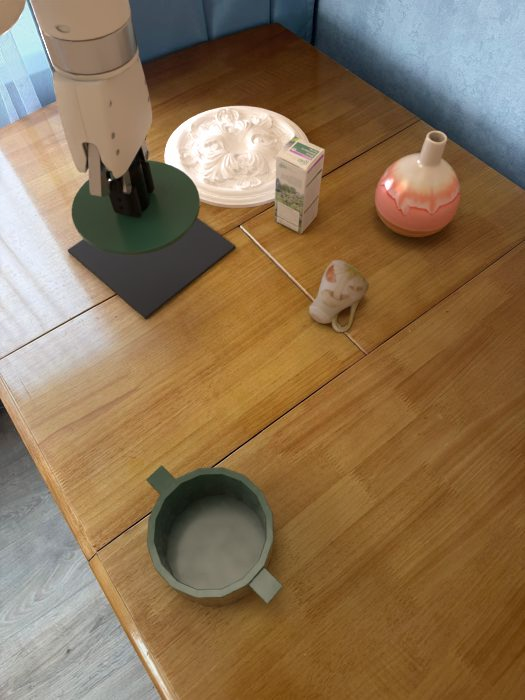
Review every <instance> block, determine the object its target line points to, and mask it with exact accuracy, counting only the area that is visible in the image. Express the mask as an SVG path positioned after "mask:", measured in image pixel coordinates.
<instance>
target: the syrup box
mask: <svg viewBox="0 0 525 700" xmlns="http://www.w3.org/2000/svg"><path fill="white" fill-rule="evenodd" d="M325 152H326V149H324V148H322V147H320V146H318V145H316V144H313V143H311V142H310V141H309V142H307V141H304V140H302V139H300V138H298V137H296V136H295V137H293V138H292V139H291V140H290V141H289V142H288V143H287V144H286V145H285V146H284V147H283V148H282V149H281V150H280V151H279V153H278V154H277V155H276V183H275V201H274V222H275V223H277V224H280V225H281V226H283V227H286V228H287V229H289V230H291V231H293V232H295V233H297V234H299V235H301V234H303V233H304V231H305V230H306V229H307V228H308V227H309V226H310V225H311V223H312V222H313V221H314V220H315V218H316V217H317V216H318V211H319V201H320V200H319V199H320V198H319V197H320V192H321V183H322V176H323V170H324V162H325Z"/></svg>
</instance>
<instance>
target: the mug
mask: <svg viewBox="0 0 525 700" xmlns="http://www.w3.org/2000/svg"><path fill="white" fill-rule="evenodd" d="M369 286H370V283H369V281H368V279H367V277H365V276H364V274H363V273H362V272H361V271H360V270H359V269H358V268H356V267H355V266H353V265H352V264H350V263H348V262H347V261H345V260H342V259H335V260H332V261H331V262H330V263H329V264H328V266H326V268H325V270H324V272H323V274H322V277H321V281H320V284H319V289H318V293H317V295H316V297H315V298H314V300H313V302H312V303H311V304H310V305H309V308H308V309H309V310H308V311H309V315H310V317H311V318H312V319H313V320H314V321H316V322H317V323H319V324H330V323H331V327H332V329H333V330H334V331H335V332H336V333H345V332H347V331H349V330H350V328H351V327H352V324H353V322H354V319H355V314H356V310H357V307H358V306H359V304H360V301H361V299H362V298H363V297H364V296H365V295H366V293H367V291H368V290H369V288H370V287H369ZM349 307H350V310H349V317H348V321H347V324H345V326H340V325H339V324H338V321H337V320H338V317H339V314H340V312H342V311H343V310H345V309H347V308H349Z"/></svg>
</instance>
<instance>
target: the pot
mask: <svg viewBox="0 0 525 700" xmlns="http://www.w3.org/2000/svg"><path fill="white" fill-rule="evenodd" d="M145 481H146V482H147V484H149V485H150V486H151V488H153V490H154V491H155V492H156V493H157V494H158V497H157V499H156V502H155V504H154V506H153V508H152V509H151V512H150V515H149V516H148V520H147V534H146V535H147V536H146V547H147V549H148V553H149V556H150V558H151V561H152V564H153V569H154V570H155V571H156V572H157V573H158V574H159V576H160V577H161V578H162V579H163V580H164V581H165V582H166V583H167V584H168V585H169V586H170V587H171V589H172V590H173V591H175V592H176V593H177V594H179V595H180V596H181V597H182V598H184V599H187V600H189V601H191V602H194V603H196V604H198V605H201V606H203V607H219V606H228V605H231V604H233V603H235V602H238V601H240V600H241V599H243V598H245V597H247V596H249V595H250V594H251V593H252V592H254V594H256V595H257V596H258V597H259V598H260V599H261V600H262V602H263V603H264V604H265V605H269V604H270V603H271V601H272V600H273V599H274V598H275V597H276V595H278V594H279V592H280V591H281V590H282V589H283V586H284V585H283V584H282V583H281V582H280V581H279V580H278V579H277V578H276V577H275V576H274V575H273V574H272V573H271V572H270V571H269V570H268V567H269V565H270V562H271V559H272V556H273V551H274V550H273V549H274V540H275V535H274V533H275V532H274V514H273V511H272V509H271V507H270V505H269V503H268V500H267V498H266V496H265V494H264V492H263V490H261V488H259V487H258V486H257V485H256V484H255V483H254V482H253V481H252V480H251V479H250V478H249V477H248V476H246V475H245V474H242V473H240V472H237V471H234V470H232V469H229V468H226V467H223V466H222V467H221V466H220V467H199V468H196V469H194V470H192V471H190V472H186V473H184V474H182V475H181V476H178V477H177V478H176V477H174V476H173V475H172V474H171V472H170V471H168V470H167V469H166V468H165V467H164V466H163V465H160V466H159V467H158V468H157V469H155V471H153V472H152V473H151V474H150V475H149V476H148V477H146V479H145Z"/></svg>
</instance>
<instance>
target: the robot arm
mask: <svg viewBox="0 0 525 700" xmlns="http://www.w3.org/2000/svg"><path fill="white" fill-rule="evenodd" d="M26 2H27V0H0V37H1V36H4V35H5V34H6V33H8V32H9V31H11V30H12V29H13V28H14V26H16V24H17V23H18V22H19V20H20V18H21V17H22V15H23V13H24V11H25V7H26V4H27V3H26ZM29 3H30V5H31V8H32V11H33V14H34V17H35V19H36V22H37V26H38V28H39V32H40V35H41V37H42V40H43V43H44V45H45V49H46V51H47V55H48V57H49V60H50V62H51V65H52V67H53V69H54V72H53V73H52V82H53V89H54V95H55V102H56V106H57V110H58V114H59V119H60V122H61V127H62V129H63V133H64V136H65V141H66V144H67V146H68V150H69V153H70V155H71V159H72V162H73V164H74V166H75V168H76V170H77V171H78V172H79V173H84V174H86V173H87V172H88V179H89V189H90V194H91V195H94V196H99V197H105V196H107V195H109V197H110V200H111V203H112V206H113V209H114V212H115V213H117V214H122V215H128V216H133V217H141V215H142V209H141V206H140V202H139V198H138V194H137V190H136V187H133V186H131V180H130V175H129V170H128V168H129V166H130V165H131V163H132V161H133V159H134V158H135V156H137V157H138V158H139V159H140V162H141V166H142V170H143V174H144V178H145V183H146V187H147V191H148V193H152V192H153V191H154V183H153V179H152V175H151V170H150V166H149V162H145V161H149V158H150V152H149V147H148V145H147V137H148V133H149V131H150V129H151V126H152V123H153V111H152V102H151V98H150V93H149V88H148V85H147V80H146V76H145V73H144V69H143V65H142V62H141V58H140V50H139V45H138V40H137V35H136V32H135V31H136V30H135V26H134V21H133V16H132V11H131V5H130V0H29ZM110 172H111V173H113V174H112V175H113V176H114V178H116V179H117V178H119V177H120V181H118V180H113V179H111V176H110Z"/></svg>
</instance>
